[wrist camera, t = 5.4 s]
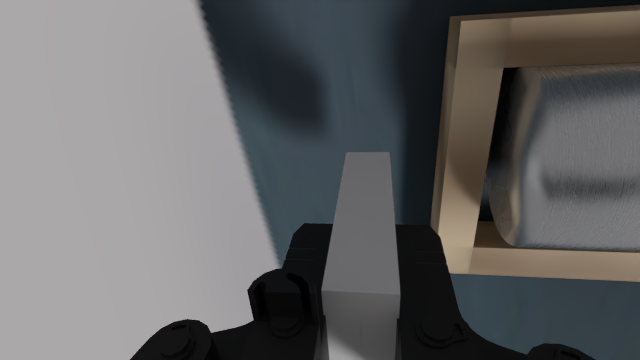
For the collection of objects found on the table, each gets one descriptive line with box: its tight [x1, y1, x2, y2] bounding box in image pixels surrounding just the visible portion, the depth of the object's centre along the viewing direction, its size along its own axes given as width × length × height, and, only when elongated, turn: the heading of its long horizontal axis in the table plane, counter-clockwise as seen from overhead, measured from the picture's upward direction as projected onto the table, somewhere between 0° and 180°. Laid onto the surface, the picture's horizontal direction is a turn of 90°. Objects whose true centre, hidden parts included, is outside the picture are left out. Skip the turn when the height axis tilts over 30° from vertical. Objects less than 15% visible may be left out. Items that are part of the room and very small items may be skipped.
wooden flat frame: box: [430, 5, 640, 282], centre depth 14 cm, size 10×13×2 cm
